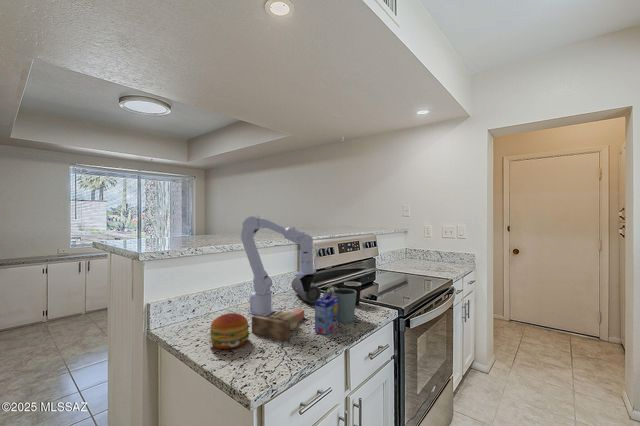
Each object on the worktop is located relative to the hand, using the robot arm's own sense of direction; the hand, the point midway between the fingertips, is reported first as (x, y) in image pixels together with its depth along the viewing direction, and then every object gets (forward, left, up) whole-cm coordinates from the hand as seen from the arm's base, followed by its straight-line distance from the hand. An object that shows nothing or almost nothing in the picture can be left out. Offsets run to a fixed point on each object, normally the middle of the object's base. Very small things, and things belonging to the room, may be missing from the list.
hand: (306, 291), depth 132 cm
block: (0, -18, -10) cm, 20 cm away
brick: (0, -9, -10) cm, 14 cm away
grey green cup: (+18, +1, -10) cm, 21 cm away
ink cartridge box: (+16, -12, -10) cm, 22 cm away
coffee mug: (+12, +22, -10) cm, 27 cm away
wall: (0, -27, -10) cm, 28 cm away
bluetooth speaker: (-12, +19, -10) cm, 25 cm away
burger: (-9, -38, -10) cm, 40 cm away
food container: (+9, +8, -10) cm, 16 cm away
